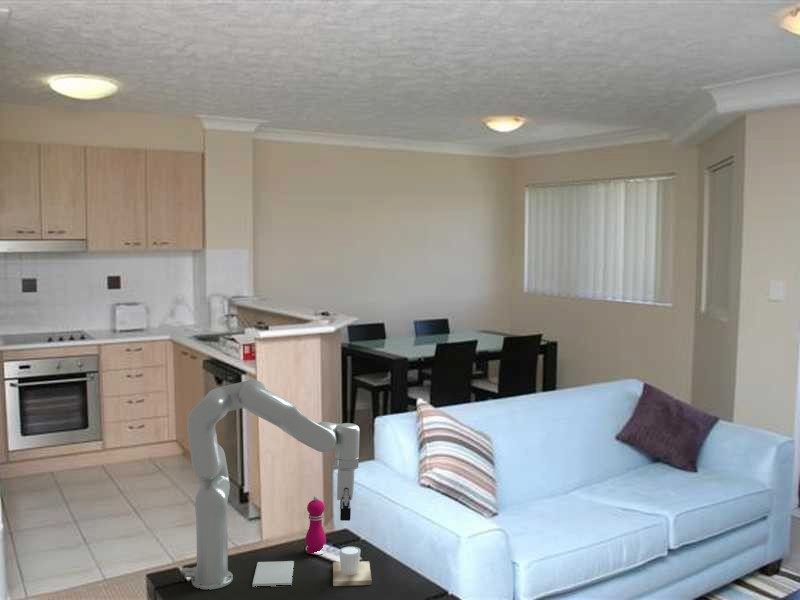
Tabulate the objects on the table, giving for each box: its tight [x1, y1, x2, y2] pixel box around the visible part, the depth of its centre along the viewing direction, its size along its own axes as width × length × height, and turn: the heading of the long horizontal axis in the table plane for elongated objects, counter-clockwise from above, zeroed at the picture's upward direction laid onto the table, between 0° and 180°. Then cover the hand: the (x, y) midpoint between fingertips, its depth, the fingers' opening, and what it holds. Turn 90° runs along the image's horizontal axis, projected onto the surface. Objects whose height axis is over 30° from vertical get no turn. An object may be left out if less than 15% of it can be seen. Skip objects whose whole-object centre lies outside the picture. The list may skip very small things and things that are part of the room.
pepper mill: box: [304, 495, 327, 553], centre depth 251 cm, size 7×7×20 cm
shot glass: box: [339, 546, 362, 575], centre depth 233 cm, size 7×7×7 cm
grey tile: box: [251, 560, 295, 588], centre depth 233 cm, size 12×16×1 cm
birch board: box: [332, 560, 373, 587], centre depth 234 cm, size 12×14×2 cm
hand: (345, 514), depth 233 cm, fingers open, 9 cm apart
